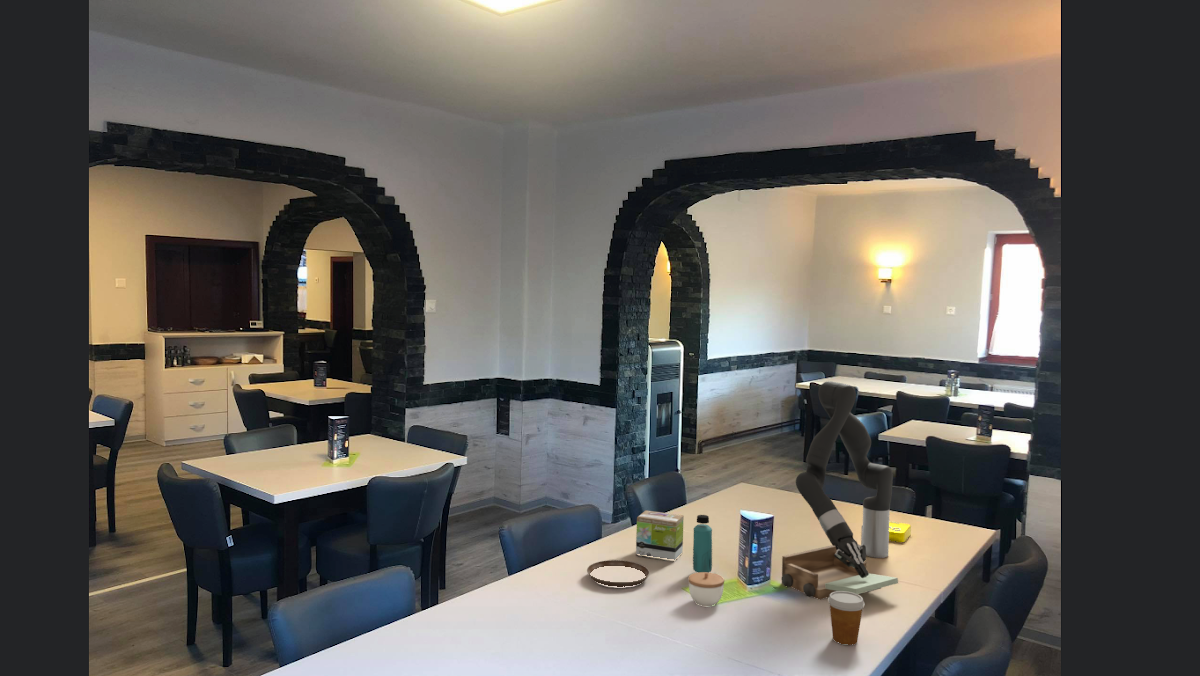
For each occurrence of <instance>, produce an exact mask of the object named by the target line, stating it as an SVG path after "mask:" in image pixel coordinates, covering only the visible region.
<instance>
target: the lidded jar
mask: <svg viewBox="0 0 1200 676" xmlns="http://www.w3.org/2000/svg"><path fill="white" fill-rule="evenodd" d="M724 583H725V579H724V577H723V576H722V575H720V574H718V573H713V572H709V573H708V572H699V573H698V572H694V573H692V574H690V575H688V591H689V594H690V597H691V599H692V600H693V601H694V602H695V604H696V603H697V604H699V605H702V606H712V605H714V604H716V605H717V603H719V602H720V601H721V599H722V596H723V594H724ZM697 604H696V605H697ZM699 605H698V606H699ZM702 606H701V607H702ZM712 607H713V606H712Z"/></svg>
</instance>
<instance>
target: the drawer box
mask: <svg viewBox="0 0 1200 676" xmlns="http://www.w3.org/2000/svg"><path fill="white" fill-rule="evenodd" d="M836 552H837V550H836V547H835V546H833V545H832V544H831V545H827V546H823V547H818V548H814V549H809V550H803V551H800V552H794V553H791V554H785V555H782V558H781V559H782V560H781V561H782V564H781V565H782V567H781V584H782V585H783V586H784V587H785V586H787V587H786V588H792V589H794V588H795V589H794V590H796V589H797V591H798V590H799V592H800V593H803V594H804V595H805V596H806V597H809V598H811V597H812V598H814V597H815V598H814V599H816V598H818V599H817V600H819V599H820V600H824V599H826V597H827V598H829V596H830V594H831V593H832V592H836V591H835V590H830V589H826V586H825V583H829V582H833V581H837V580H841V579H845V578H849V577H853V576H857V575H859V574H858V573H857V571H856V569H855V568H853V567H852V566H850V567H848V566H847V565H845V564H844V563H843V562H841V561H840V560H838V559H837V558H836V557H835V556H834V554H835V553H836ZM846 561H847V560H846ZM863 564H864V566H865V568H866V569H867V567H868V566H867V564H868V563H867V562H866V561H864V562H863ZM823 598H824V599H823Z"/></svg>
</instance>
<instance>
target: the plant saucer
mask: <svg viewBox="0 0 1200 676" xmlns="http://www.w3.org/2000/svg"><path fill="white" fill-rule="evenodd" d="M604 566H625V567H631V568H635V569H637V570H640V571H642V572H643V573H644V574H645V576H646V577H645V578H643V579H641V580H638V581H633V582H610V581H604V580H600V579H597V578H595V577H593V576H591V575H590V573H591V572H592V571H593V570H594V569H597V568H599V567H604ZM586 572H587V574H588V576H589V578H591V580H592V579H593V580H594V581H596V582H598V583H601V584H604V585H608V586H617V587H623V586H624V587H625V586H633V585H637V584H640V583H641V584H643V583H644V582H646V580H647V579H648V577H649V576H650V570H649V568H648V567H646V566H644V565H643V564H641V563H637V562H635V561H628V560H623V559H622V560H620V559H612V560H611V559H609V560H601V561H597V562H594V563H591V564H590V565H589V566H588V567H587V569H586ZM593 580H592V581H593ZM594 581H593V582H594ZM596 582H595V583H596ZM642 582H643V583H642ZM641 584H640V585H641Z"/></svg>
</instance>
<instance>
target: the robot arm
mask: <svg viewBox="0 0 1200 676" xmlns="http://www.w3.org/2000/svg"><path fill="white" fill-rule="evenodd" d="M856 397H857V394H856V389H855V388H854V386H852V385H850V384H847V383H843V382H837V381H829V380H828V381H824V382H823V383H821V384H820V386H819V387H818V399H819V402H820V404H821V406H822V408H823V409H824V411H825V413H826V414H827V415H828V417H829V419H830V420H829V421H828V422H827V424H826V425H825V426H824V427H822V429H820V431H819V432H818V433H816V435H815V436H814V437H813V439H812V440H811V443H810V446H809V449H808V452H807V456H806V459H805V463H806V465H807V467H806V471H802V472H801V473H798V475H797V477H795V478H796V479H795V487H796V488H797V491H798V492H799V493H800V495H801V496H802V497H803V499H804V500H805V501H806V503H807V504H808V505H809V507H810V509H812V512H813V514H814V515H815V517H816V518H817V520H818V522H819V524H820V526H821V529H822V530H823V532H824V533H825V535H826V536H827V539H828V540H829V542H830V543H831V545H833V546H835V547H836V550H837V552H836V553H835V554H834V556H835V557H836V558H837V559H838V560H840V561H841V562H843V563H844V564H845V565H847V566H848V567H850V566H852V567H853V568H855V569H856V571H857V573H858V574H859V576H860V577H861V578H865V577H867V576H868V575H869V574H870V572H869V571H868V570H867V569H866V568H865V566H864V564H863V562H866V561H867V557H870V558H875V559H876V558H879V559H880V558H881V559H882V558H887V557H889V545H890V543H889V542H890V541H889V521H890V515H891V514H890V510H891V509H890V508H891V502H892V493H893V479H894V475H893V470H892V468H891V467H890V466H889V465H884V464H878V463H873V462H871V461H870V460H869V459H868V457H867V455H868V453H869V451H870V450H871V445H872V439H871V436H870V434H869V431H868V430H867V428H866V426H865V424H864V423H863V422H861V421H860V420H859V418H858V417H856V416H855V414H853V413H852V409H853V407H854V405H855V402H856ZM838 436H840V439H841V442H842V443H843V445H844V447H845V450H846V451H847V453H848V455H849V458H850V459H851V461H852V464H853V467H854V469H855V472H856V475H857V478H858V481H859V483H860V484H861V485H862V486H863V487H865V488H867V489H870V490H876V495H874V496H868V497H865V498H864V499H863V501H862V525H861V532H860V533H861V535H860V536H861V538H860V544H859V543H858V541H857V540H855V539H854V533H853V531H852V530H851V527H850V526H849V525H848V523H847V521H846V520H845V518H844V517H843V515H842V514H841V512H840V511H839V509H838V508H837V507H836V505H835V503H834V502H833V500H832V498H830V497H829V496H828V495H827V494H826V493H825V491H824V490H823V487H824V484H825V480H826V473H827V465H828V463H829V460H830V457H831V454H832V451H833V449H834V445H835V444H836V443H835V442H836V441H837V439H838ZM846 560H847V561H846Z"/></svg>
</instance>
